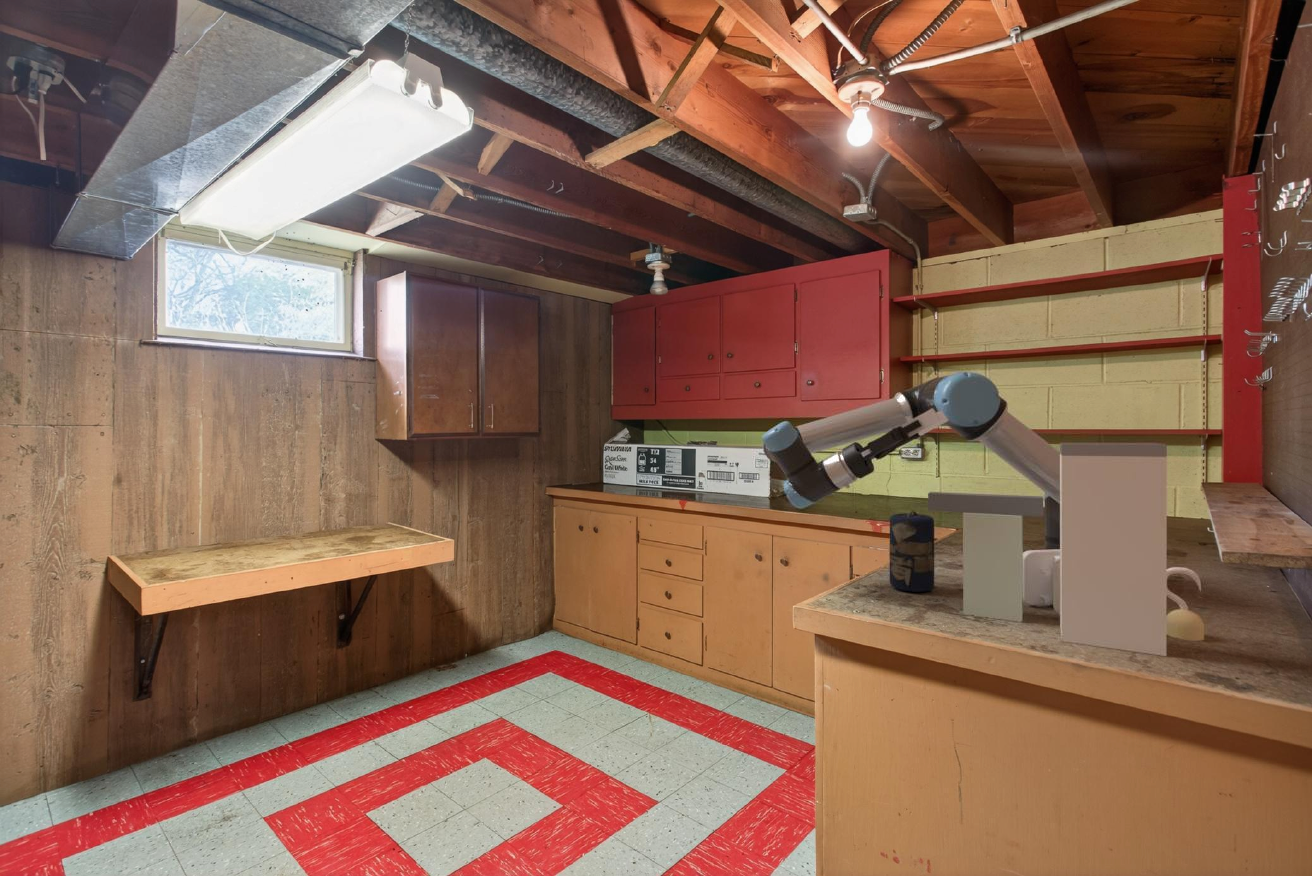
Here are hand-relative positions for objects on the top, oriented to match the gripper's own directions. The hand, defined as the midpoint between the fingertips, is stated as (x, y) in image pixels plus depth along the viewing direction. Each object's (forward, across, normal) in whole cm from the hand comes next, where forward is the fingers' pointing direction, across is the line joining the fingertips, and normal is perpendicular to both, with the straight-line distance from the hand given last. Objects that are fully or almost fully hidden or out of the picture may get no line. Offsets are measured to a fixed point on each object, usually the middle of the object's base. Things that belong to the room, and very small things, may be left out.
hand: (941, 414), depth 125 cm
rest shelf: (-12, -1, -39) cm, 41 cm away
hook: (+13, -3, -54) cm, 55 cm away
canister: (-27, -13, -31) cm, 43 cm away
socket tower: (+4, +7, -48) cm, 49 cm away
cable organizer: (-1, -11, -46) cm, 47 cm away
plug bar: (-3, -1, -21) cm, 21 cm away
